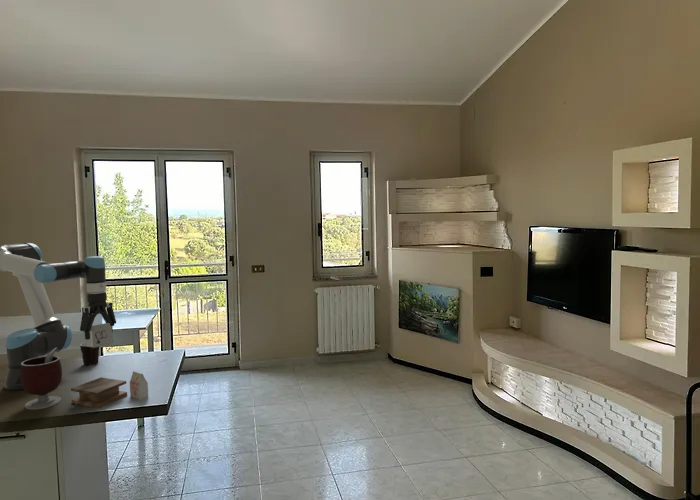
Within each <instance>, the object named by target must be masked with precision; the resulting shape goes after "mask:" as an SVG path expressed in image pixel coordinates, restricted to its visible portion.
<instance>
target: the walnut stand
mask: <svg viewBox="0 0 700 500" xmlns="http://www.w3.org/2000/svg"><path fill="white" fill-rule="evenodd" d="M126 384H127V380H121V379H114V378H107V377H102V376H101V377H98V378H96V379H92V380H91V381H87V382H85V383H82V384H79V385H76V386H74V387H71V388H70V392H74V393H79V396H77V397H75V398H72V399H71V404H72V403H75V404H74V405H77V404H80V405H79V406H83V405H84V406H85V407H88V406H90V407H89V408H95V409H100V408H101V407H104V406H107V405H109V404H111V403H113V402H116V401H118V400H120V399H123V398H125V397H127V396H128V392H127V391H122V390H120V387H121V386H124V385H126Z"/></svg>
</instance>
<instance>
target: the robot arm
mask: <svg viewBox="0 0 700 500" xmlns="http://www.w3.org/2000/svg"><path fill="white" fill-rule="evenodd" d="M43 257H44V256H43V253H42V249H40V248H39V246H38V245H37V244H35V243H32V242H19V243H5V244H4V243H2V244H0V272H10V273H11V275H12V276H15V277H16V278H17V279H18V282H19V285H20V288H21V291H22V293H23V296H24V299H25V302H26V303H27V307H28V309H29V311H30V314H31V318H32V320H33V323H34V325H33V328H24V329H20V330H15V331H14V332H12V333H10V334H8V335H7V337H6V343H5V348H6V355H7V357H6V360H7V373H6V374H5V375H6V376H5V380H4V386H3V387H4V389H5V390H9V391H19V390H24V389H23V387H22V384H21V380H20V369H21V363H22V362H23V361H25V360H28V359H32V358H36V357H43V356H47V355H48V354H49V353H50V352H51V351H52V350H53V349H54V348H57V349H56V350H55V352H54V353H59V352H61V351H64V350H67V348H69V347H70V346H71V343H72V340H73V332H72V330H71V328H70V326H69V325H68V324H65V323H63V321H62V320H61V319H59V318H57V316H55V311H54V310H53V309H54V308H53V306H52V305H51V302H50V298H49V296H48V294H47V290H46V288H45V286H44V284H45V283H46V284H49V283H54V282H60V281H67V280H73V279H74V280H75V279H86V280H85V282H86V284H85V285H86V292H87V294H86V299H87V302H88V306H87V307H85V306H84V307H82V308H81V313H82V315H81V321H80V328H79V331H80V332H83V333H84V339H85V340H86V342H87V347H93V339H92V331H90V330H91V327H92V326H93V324H94V321H95V318H96V317H97V316H98V315H99V314H100V315H101V317H102V318H103V321H104V323H110V326H111V331H112V333H113V332H114V331H113V327H114V326H115V324H117V319H116V315H115V312H114V308H113V302H109V301H108V302H107V299H108V298H107V297H108V296H107V295H108V293H107V292H106V291H107V281H106V279H107V278H106V261H105V257H103V256H99V255H96V256H95V255H92V256H86V257H85V259H84V260H77V259H75V260H69V261H62V262H57V263H56V262H55V263H53V262H47V261H43Z"/></svg>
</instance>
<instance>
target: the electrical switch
mask: <svg viewBox="0 0 700 500" xmlns="http://www.w3.org/2000/svg"><path fill="white" fill-rule="evenodd" d="M90 331H92V339H93V347H92V348H95V347H99V348H100V347H103V346H107V345H112V344H113V343H114V337H113V332H112V331H111V326H110V323H106V322H104V323H101V324H100V323H99V324H95V325H92V327H91V330H90ZM97 342H98V343H97Z"/></svg>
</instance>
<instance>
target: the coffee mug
mask: <svg viewBox="0 0 700 500" xmlns="http://www.w3.org/2000/svg"><path fill="white" fill-rule="evenodd" d="M97 343H98V342H97ZM79 347H80V353H81V357H82V363H83V366H84V367H88V366H89V367H91V366H95V365H98V364H99V360H100V359H99V358H100V347H95V348H92V347H87V341H86V342H83V343H80V345H79Z"/></svg>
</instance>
